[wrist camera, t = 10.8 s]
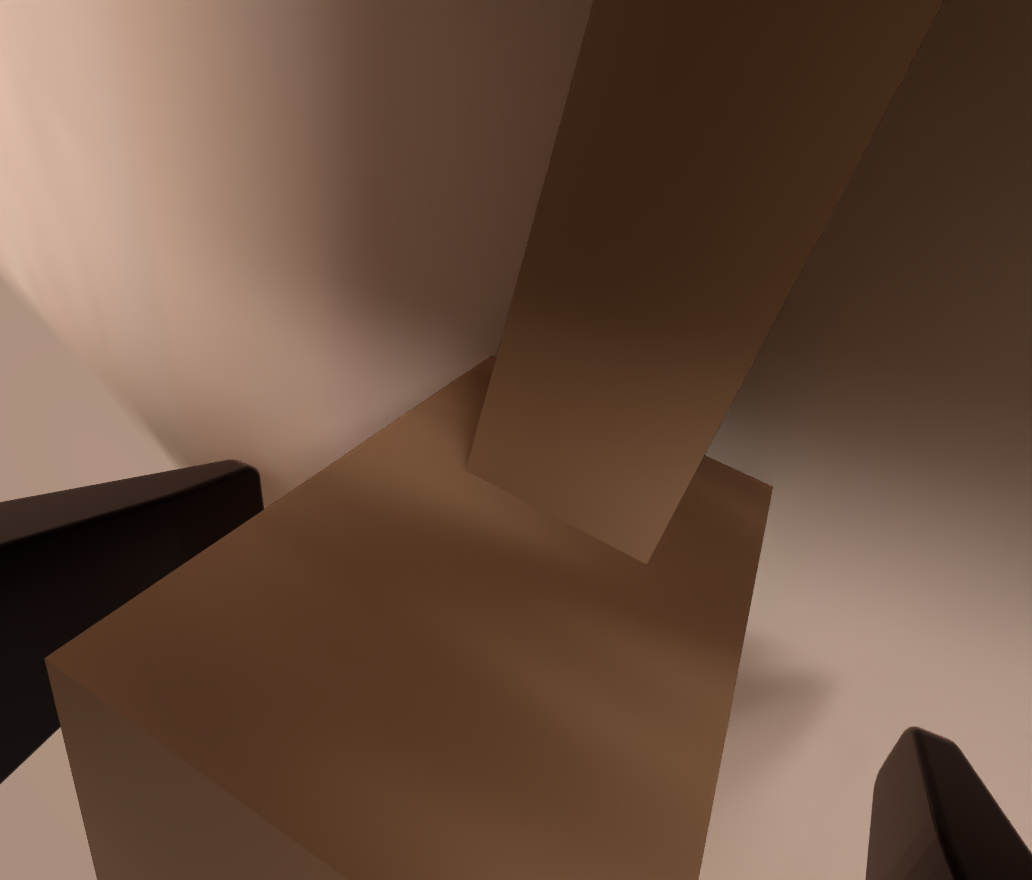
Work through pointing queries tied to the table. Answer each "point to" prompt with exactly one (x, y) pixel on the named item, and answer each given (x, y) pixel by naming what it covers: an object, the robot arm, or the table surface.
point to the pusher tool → (513, 517)
